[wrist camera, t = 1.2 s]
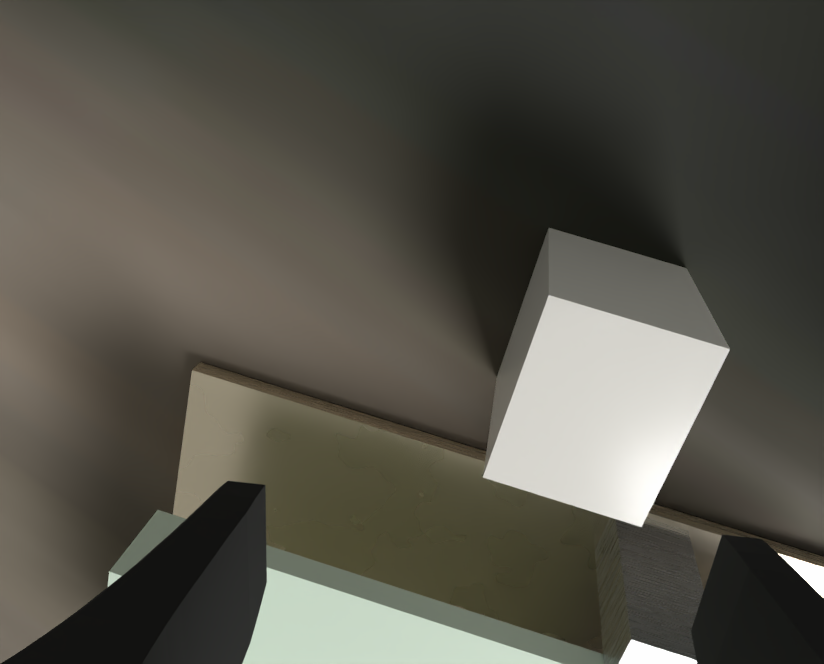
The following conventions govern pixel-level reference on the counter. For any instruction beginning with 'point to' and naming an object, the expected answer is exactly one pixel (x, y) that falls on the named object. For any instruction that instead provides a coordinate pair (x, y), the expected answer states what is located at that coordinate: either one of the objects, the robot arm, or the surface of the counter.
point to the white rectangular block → (601, 378)
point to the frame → (452, 522)
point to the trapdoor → (365, 618)
